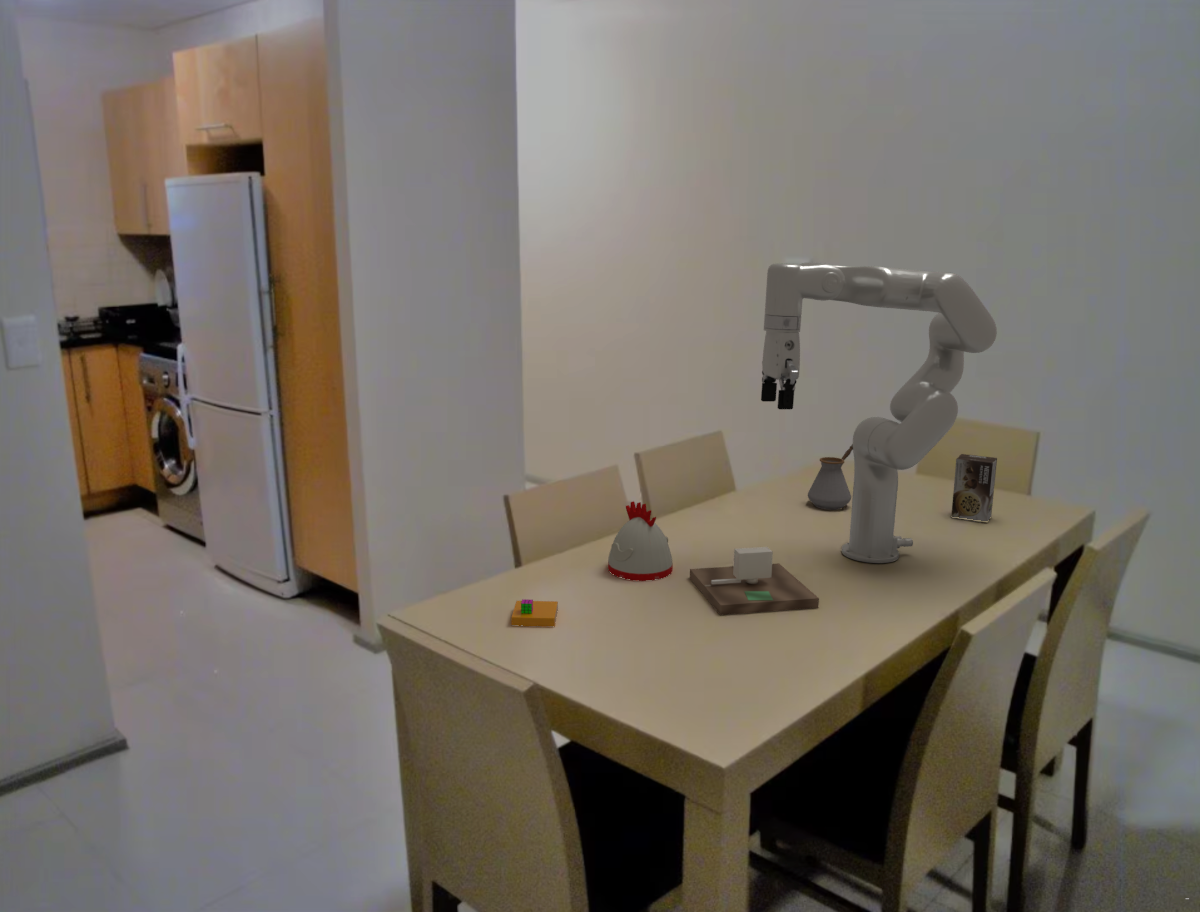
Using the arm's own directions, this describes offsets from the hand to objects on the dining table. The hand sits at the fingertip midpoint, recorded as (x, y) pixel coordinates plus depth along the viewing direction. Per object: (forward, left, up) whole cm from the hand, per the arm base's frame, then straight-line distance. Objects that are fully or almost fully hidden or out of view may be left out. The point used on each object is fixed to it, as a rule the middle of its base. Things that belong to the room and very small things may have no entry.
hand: (776, 405), depth 194 cm
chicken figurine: (+29, -1, -36) cm, 46 cm away
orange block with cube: (+55, +20, -36) cm, 69 cm away
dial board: (+10, +16, -36) cm, 40 cm away
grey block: (+12, +16, -33) cm, 39 cm away
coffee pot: (-37, -43, -36) cm, 67 cm away
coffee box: (-65, -23, -36) cm, 78 cm away
